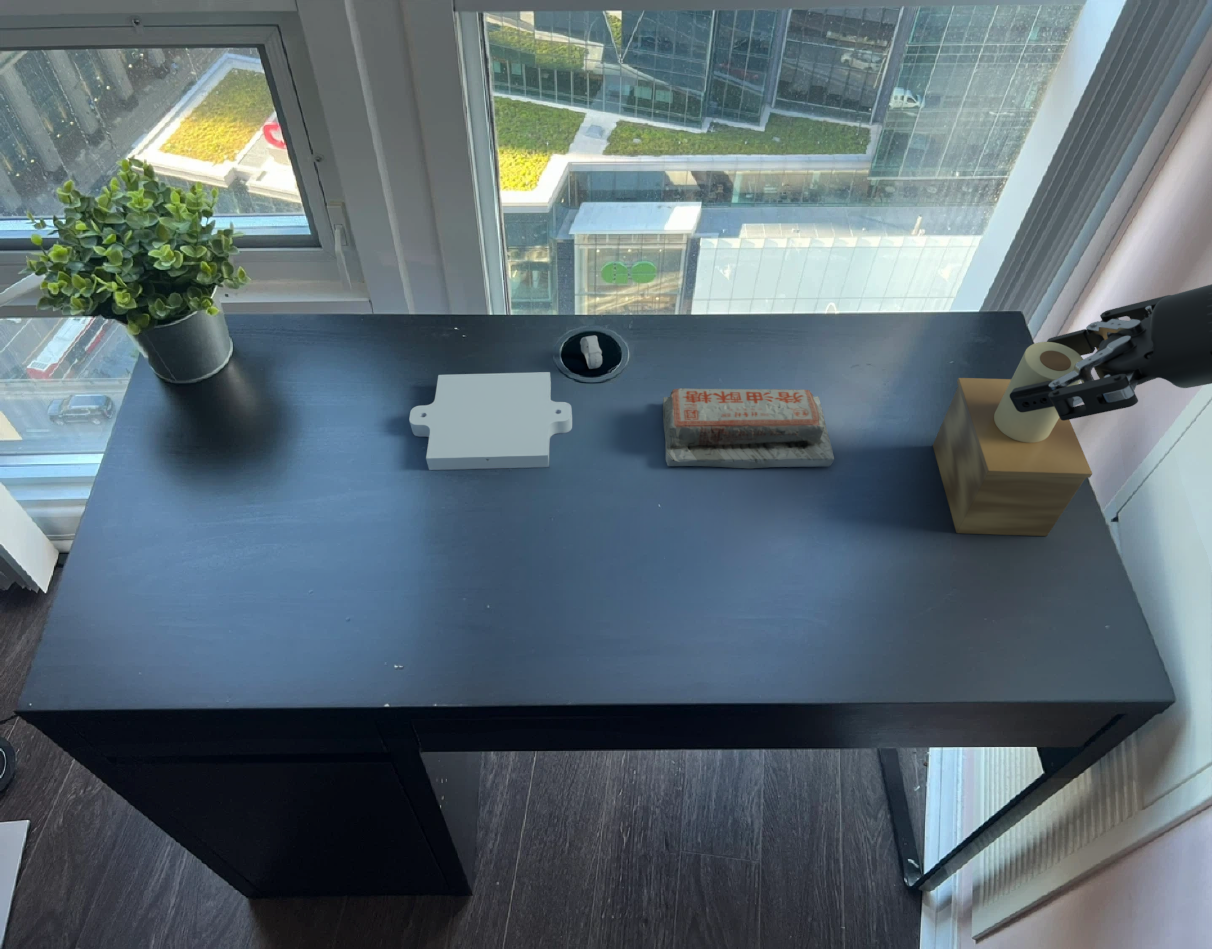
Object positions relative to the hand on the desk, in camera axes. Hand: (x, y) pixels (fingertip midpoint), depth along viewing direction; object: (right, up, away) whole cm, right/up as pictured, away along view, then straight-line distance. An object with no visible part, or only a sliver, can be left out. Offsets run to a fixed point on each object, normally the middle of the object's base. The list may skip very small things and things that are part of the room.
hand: (1032, 375), depth 77 cm
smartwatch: (-41, +4, +25) cm, 48 cm away
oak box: (+1, -11, +11) cm, 16 cm away
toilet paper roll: (+1, -4, +4) cm, 6 cm away
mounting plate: (-52, -4, +18) cm, 55 cm away
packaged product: (-24, -5, +17) cm, 29 cm away
